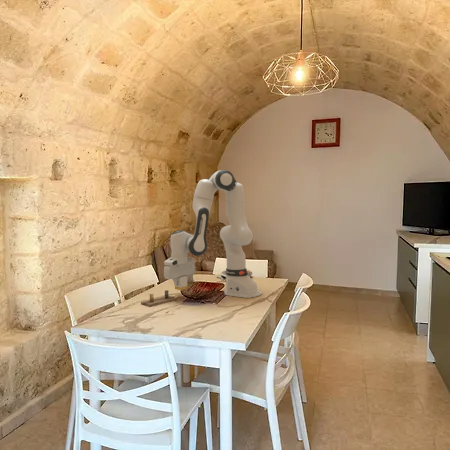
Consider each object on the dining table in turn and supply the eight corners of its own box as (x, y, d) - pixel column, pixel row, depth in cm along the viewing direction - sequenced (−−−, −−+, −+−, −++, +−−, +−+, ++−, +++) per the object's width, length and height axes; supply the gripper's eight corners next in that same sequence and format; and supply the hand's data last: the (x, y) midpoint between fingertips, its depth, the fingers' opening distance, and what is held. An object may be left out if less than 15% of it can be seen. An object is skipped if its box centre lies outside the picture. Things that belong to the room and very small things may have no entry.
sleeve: (187, 288, 226) (186, 276, 226) (180, 290, 223) (179, 277, 222) (181, 287, 230) (181, 275, 229) (174, 288, 226) (174, 276, 225)
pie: (230, 273, 296) (230, 266, 296) (264, 276, 282) (264, 269, 282) (209, 280, 272) (209, 272, 272) (245, 284, 258) (245, 277, 258)
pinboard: (177, 299, 219) (176, 290, 219) (150, 306, 206) (149, 296, 206) (168, 297, 225) (167, 288, 225) (141, 304, 212) (140, 294, 212)
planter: (196, 280, 268) (196, 266, 268) (186, 284, 259) (186, 269, 259) (183, 279, 274) (183, 265, 274) (173, 282, 265) (172, 267, 264)
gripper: (189, 256, 234) (191, 279, 235) (161, 262, 220) (163, 287, 221) (197, 257, 230) (198, 281, 231) (168, 263, 215) (170, 288, 216)
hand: (180, 284), depth 226 cm, fingers closed on sleeve, 5 cm apart
